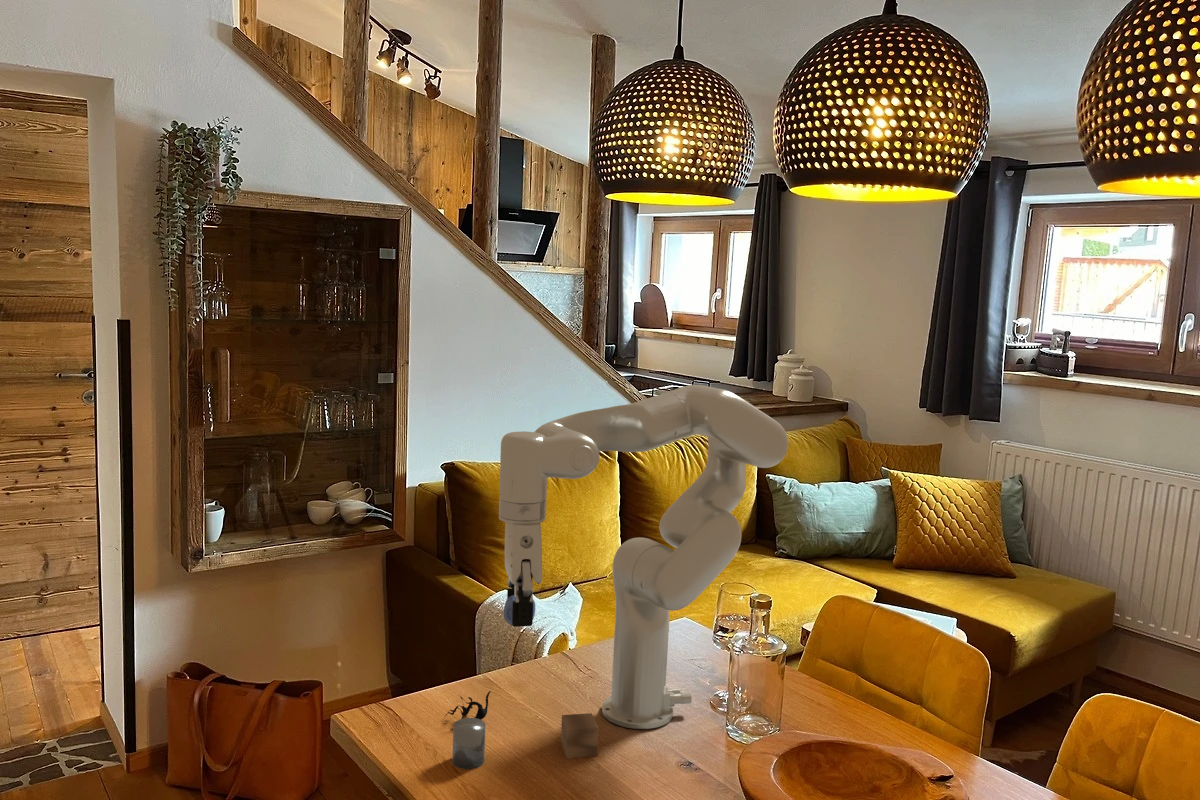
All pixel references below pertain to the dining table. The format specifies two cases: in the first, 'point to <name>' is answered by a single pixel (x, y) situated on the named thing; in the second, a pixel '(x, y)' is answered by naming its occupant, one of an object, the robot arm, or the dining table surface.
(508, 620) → the decorative dice
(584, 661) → the dining table surface
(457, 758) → the dark metal cylinder
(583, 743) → the walnut block
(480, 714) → the creature
